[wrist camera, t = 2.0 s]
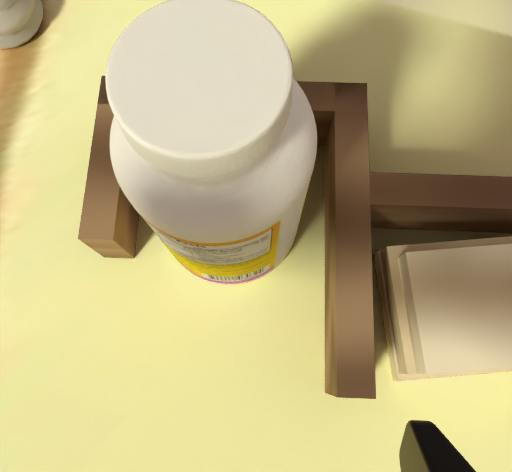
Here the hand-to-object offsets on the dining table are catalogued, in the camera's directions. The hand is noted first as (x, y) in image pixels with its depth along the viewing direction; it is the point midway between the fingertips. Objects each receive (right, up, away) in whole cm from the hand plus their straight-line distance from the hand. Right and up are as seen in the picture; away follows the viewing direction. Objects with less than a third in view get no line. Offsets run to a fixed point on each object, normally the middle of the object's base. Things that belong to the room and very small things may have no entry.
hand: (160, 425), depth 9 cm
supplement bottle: (0, +4, +15) cm, 16 cm away
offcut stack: (+11, 0, +14) cm, 18 cm away
